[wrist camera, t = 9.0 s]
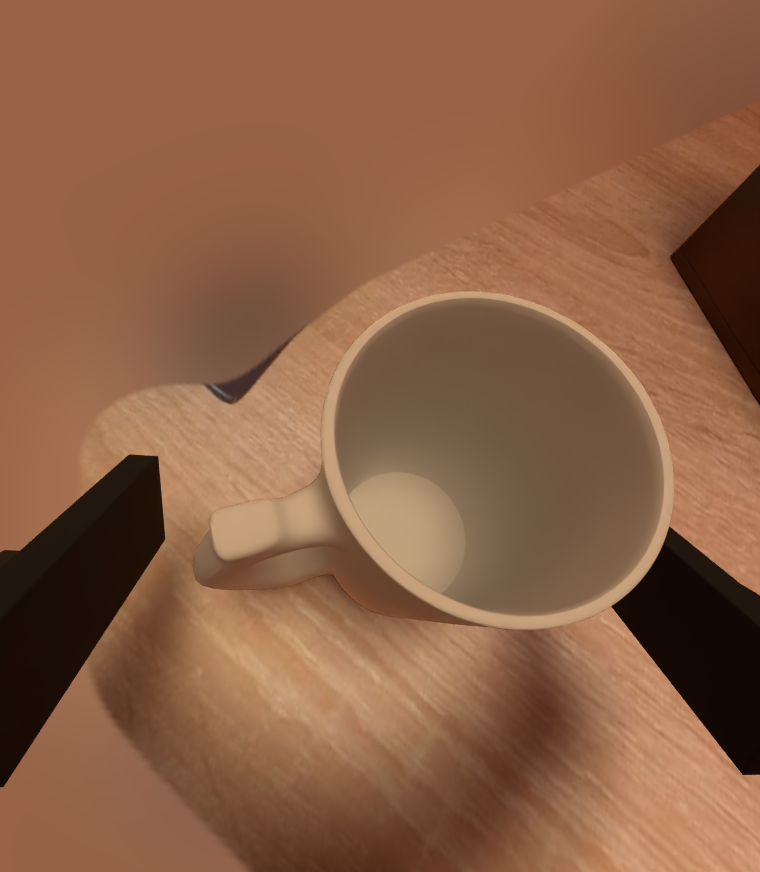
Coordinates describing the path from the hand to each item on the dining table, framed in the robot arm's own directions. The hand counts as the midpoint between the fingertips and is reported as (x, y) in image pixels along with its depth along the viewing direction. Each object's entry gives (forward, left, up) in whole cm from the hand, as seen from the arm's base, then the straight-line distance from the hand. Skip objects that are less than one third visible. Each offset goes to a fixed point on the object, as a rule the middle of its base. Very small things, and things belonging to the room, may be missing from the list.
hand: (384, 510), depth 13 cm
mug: (0, 0, -6) cm, 6 cm away
